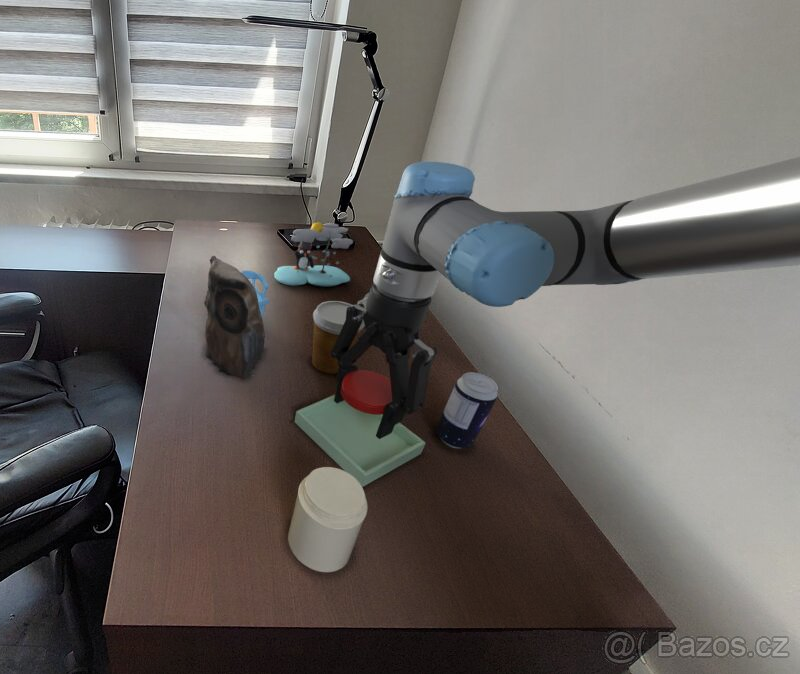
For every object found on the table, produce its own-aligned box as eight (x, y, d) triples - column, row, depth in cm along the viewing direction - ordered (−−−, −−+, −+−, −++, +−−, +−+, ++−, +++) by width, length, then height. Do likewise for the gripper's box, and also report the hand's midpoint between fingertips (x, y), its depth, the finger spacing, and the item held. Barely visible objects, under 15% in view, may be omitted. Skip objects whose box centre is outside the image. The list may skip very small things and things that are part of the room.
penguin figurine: (276, 288, 117) (284, 232, 108) (270, 270, 126) (277, 216, 117) (353, 290, 117) (367, 234, 109) (342, 271, 126) (354, 218, 118)
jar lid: (349, 372, 74) (351, 363, 73) (401, 390, 71) (405, 382, 70) (333, 401, 68) (335, 392, 67) (389, 422, 65) (392, 413, 64)
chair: (239, 336, 98) (244, 287, 91) (222, 318, 104) (225, 270, 97) (270, 329, 101) (276, 281, 94) (251, 311, 107) (256, 264, 100)
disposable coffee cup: (362, 368, 90) (377, 316, 83) (329, 385, 85) (342, 331, 79) (326, 345, 96) (337, 295, 90) (293, 359, 92) (303, 307, 85)
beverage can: (473, 456, 72) (504, 399, 65) (434, 445, 74) (460, 388, 67) (469, 431, 76) (498, 375, 70) (433, 422, 78) (457, 367, 71)
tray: (421, 453, 72) (426, 442, 71) (361, 487, 66) (365, 476, 65) (350, 397, 83) (353, 386, 81) (294, 421, 77) (296, 411, 76)
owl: (247, 385, 85) (258, 289, 73) (185, 367, 89) (187, 274, 77) (266, 349, 94) (278, 260, 83) (210, 334, 98) (214, 247, 87)
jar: (364, 553, 58) (385, 501, 52) (317, 584, 54) (334, 532, 49) (320, 505, 64) (335, 454, 58) (275, 531, 60) (286, 479, 54)
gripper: (324, 263, 65) (299, 385, 78) (456, 336, 50) (399, 472, 63) (361, 253, 68) (332, 372, 81) (496, 320, 53) (434, 452, 66)
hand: (361, 416), depth 72 cm, fingers closed on jar lid, 8 cm apart
